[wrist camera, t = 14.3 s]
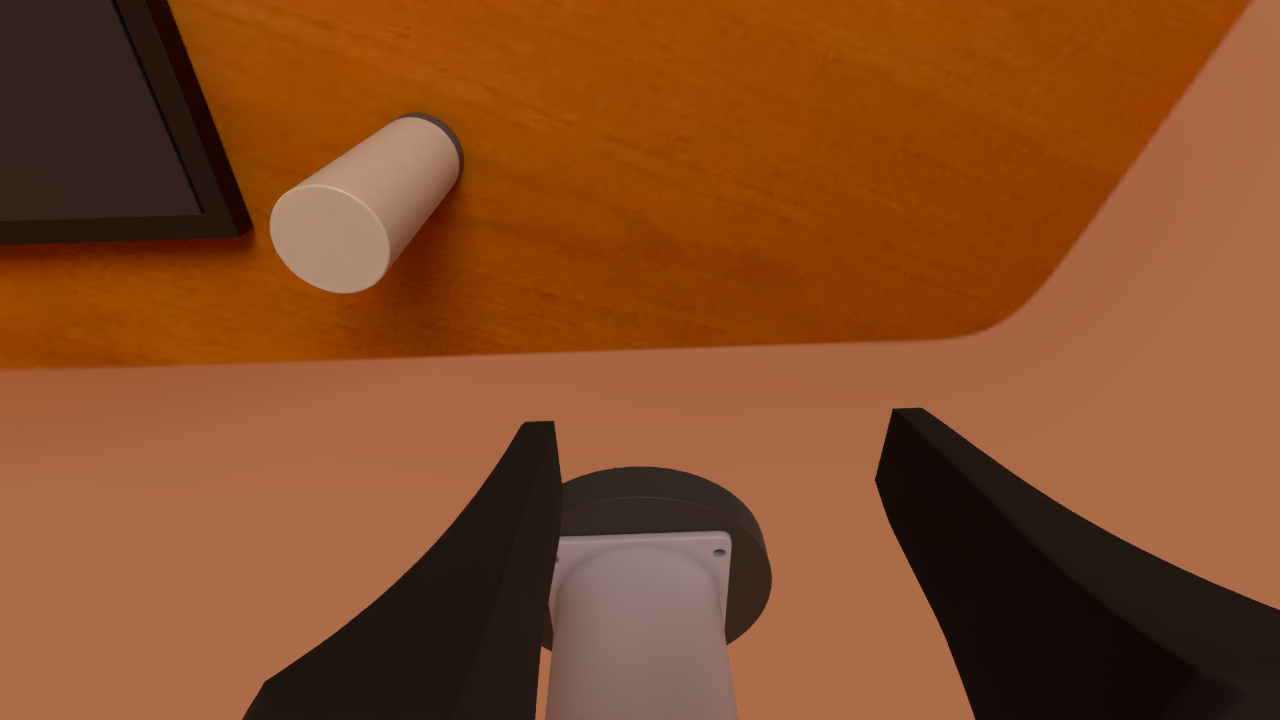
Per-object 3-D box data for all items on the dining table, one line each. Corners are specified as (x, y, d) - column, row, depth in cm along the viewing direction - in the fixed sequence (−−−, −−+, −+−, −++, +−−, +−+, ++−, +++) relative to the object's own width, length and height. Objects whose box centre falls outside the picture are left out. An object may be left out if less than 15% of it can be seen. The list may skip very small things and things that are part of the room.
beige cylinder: (470, 191, 19) (401, 292, 13) (394, 194, 19) (291, 296, 13) (455, 111, 18) (373, 182, 12) (374, 113, 18) (250, 186, 12)
